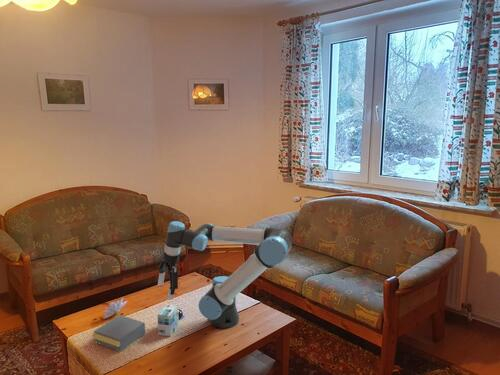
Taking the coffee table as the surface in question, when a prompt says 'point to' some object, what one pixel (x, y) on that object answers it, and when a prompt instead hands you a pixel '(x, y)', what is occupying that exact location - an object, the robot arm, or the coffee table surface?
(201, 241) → the robot arm
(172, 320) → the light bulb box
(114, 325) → the book
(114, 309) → the water lily
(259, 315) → the coffee table surface
